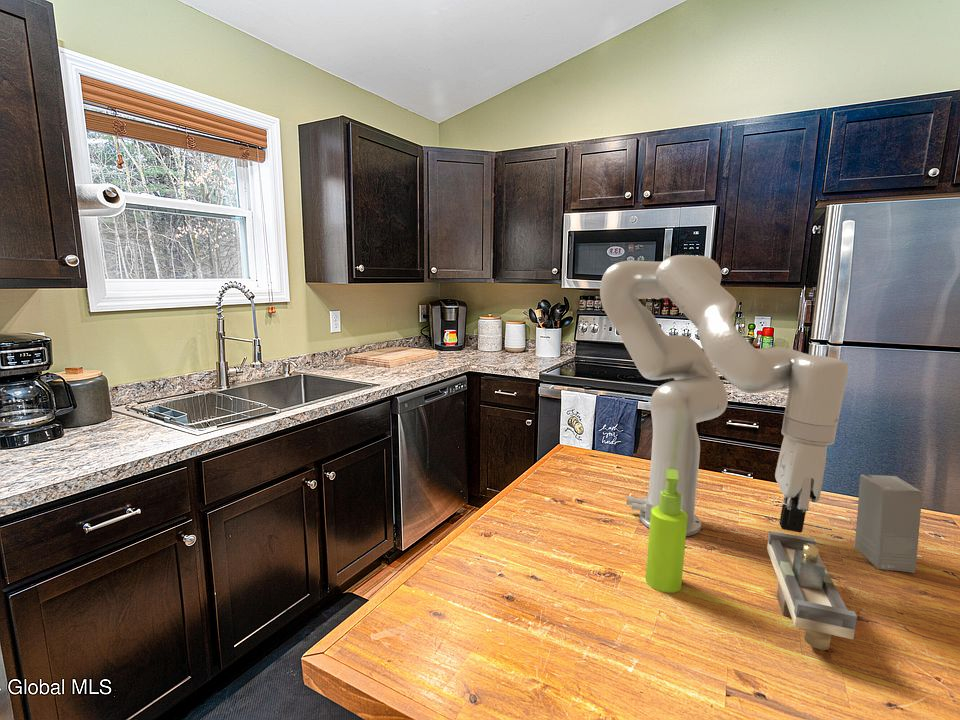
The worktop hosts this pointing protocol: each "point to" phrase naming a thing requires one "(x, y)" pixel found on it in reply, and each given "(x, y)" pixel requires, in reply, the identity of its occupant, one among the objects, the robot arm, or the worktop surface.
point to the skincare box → (888, 522)
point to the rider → (808, 567)
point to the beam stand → (808, 596)
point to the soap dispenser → (667, 539)
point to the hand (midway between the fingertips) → (790, 528)
